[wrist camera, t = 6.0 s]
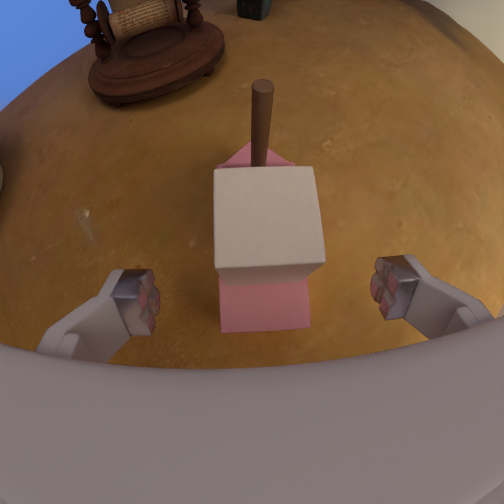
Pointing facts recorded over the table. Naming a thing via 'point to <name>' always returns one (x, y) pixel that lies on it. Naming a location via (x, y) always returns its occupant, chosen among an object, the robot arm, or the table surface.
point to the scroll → (148, 47)
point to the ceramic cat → (253, 8)
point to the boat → (265, 232)
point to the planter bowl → (1, 177)
